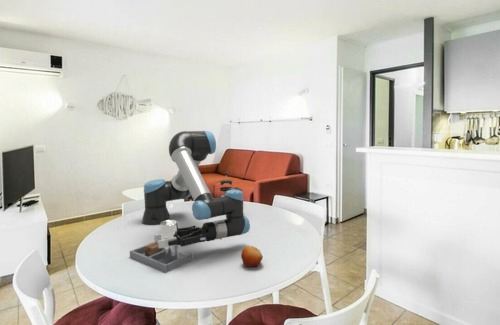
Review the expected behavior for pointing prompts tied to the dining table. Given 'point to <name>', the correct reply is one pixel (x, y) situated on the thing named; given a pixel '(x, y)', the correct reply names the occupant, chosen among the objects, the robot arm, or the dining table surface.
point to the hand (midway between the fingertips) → (156, 241)
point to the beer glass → (167, 232)
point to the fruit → (251, 256)
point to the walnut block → (152, 249)
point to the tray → (159, 259)
